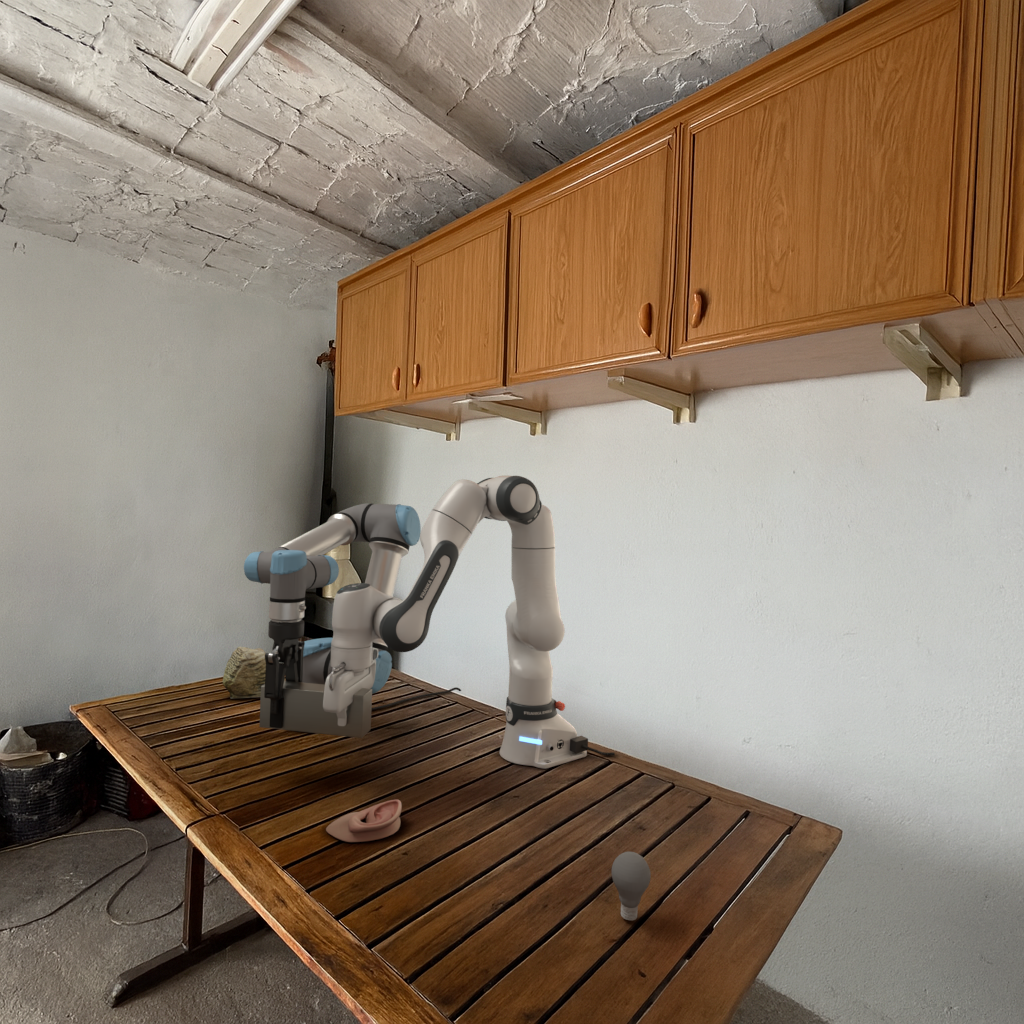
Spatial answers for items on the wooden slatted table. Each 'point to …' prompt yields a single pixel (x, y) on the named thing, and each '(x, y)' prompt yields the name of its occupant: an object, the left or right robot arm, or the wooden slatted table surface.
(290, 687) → the bar
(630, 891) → the light bulb
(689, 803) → the wooden slatted table surface
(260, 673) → the fossil
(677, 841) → the wooden slatted table surface
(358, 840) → the anatomical model
